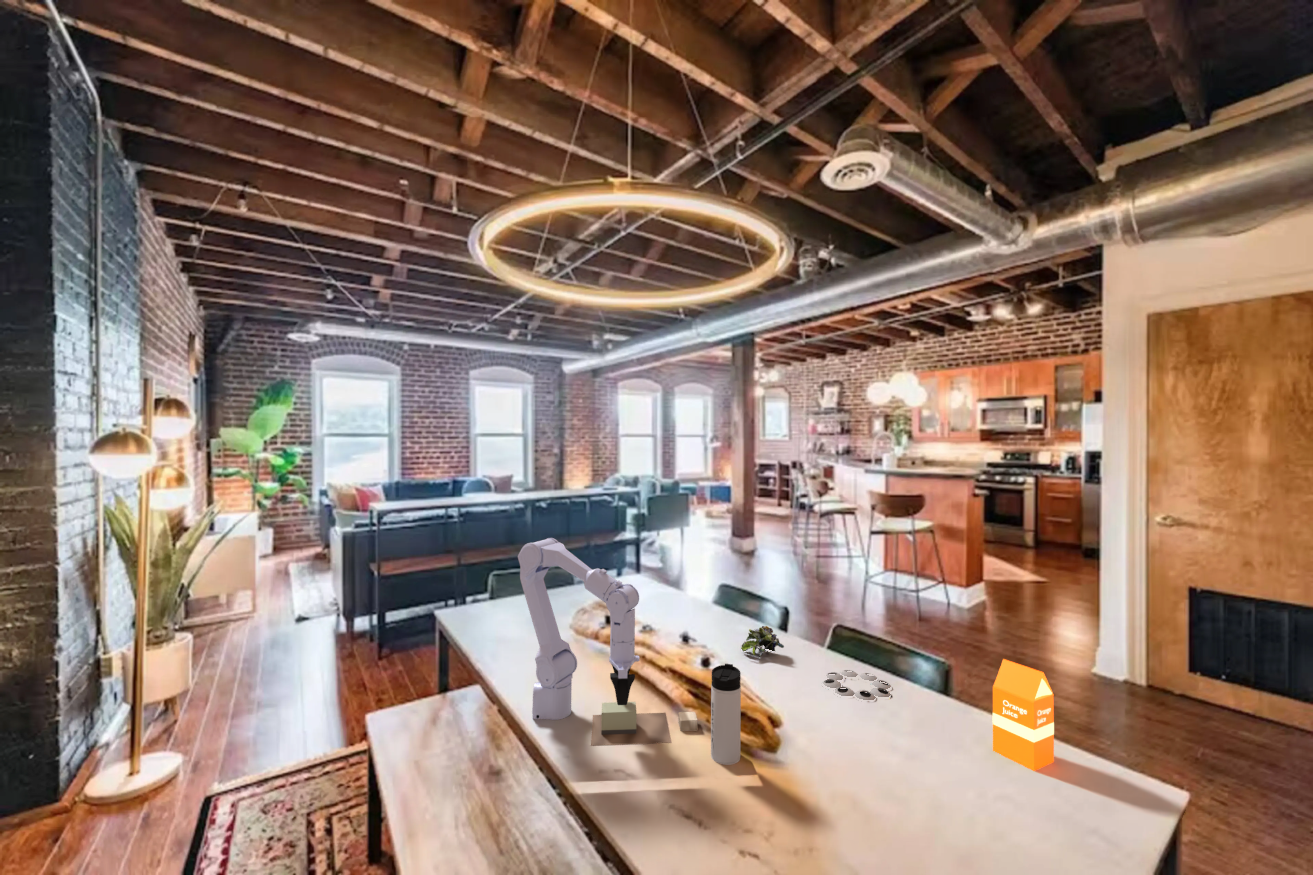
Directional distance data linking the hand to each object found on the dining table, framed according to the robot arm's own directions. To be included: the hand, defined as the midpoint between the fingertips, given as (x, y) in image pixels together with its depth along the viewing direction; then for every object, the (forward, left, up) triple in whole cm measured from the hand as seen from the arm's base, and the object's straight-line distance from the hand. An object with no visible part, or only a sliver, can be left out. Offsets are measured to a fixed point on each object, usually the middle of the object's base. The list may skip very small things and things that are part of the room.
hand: (621, 696), depth 130 cm
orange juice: (+88, -15, -9) cm, 90 cm away
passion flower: (+46, +46, -9) cm, 66 cm away
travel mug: (+22, -13, -9) cm, 27 cm away
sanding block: (-1, 0, -7) cm, 7 cm away
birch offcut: (+14, 0, -7) cm, 15 cm away
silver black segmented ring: (+67, +22, -10) cm, 71 cm away
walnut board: (+2, 0, -9) cm, 9 cm away
